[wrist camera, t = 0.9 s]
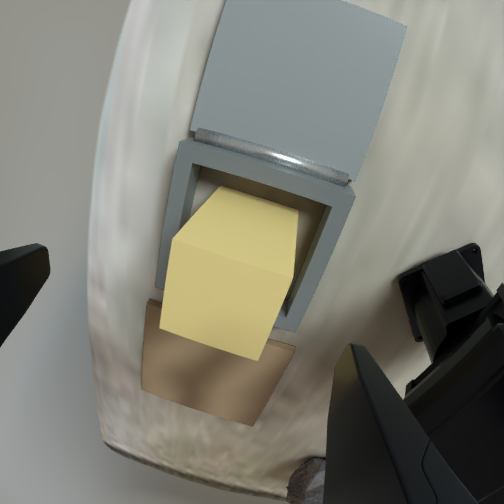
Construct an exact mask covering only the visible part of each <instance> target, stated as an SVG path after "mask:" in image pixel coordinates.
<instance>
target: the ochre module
mask: <svg viewBox="0 0 504 504" xmlns="http://www.w3.org/2000/svg"><path fill="white" fill-rule="evenodd" d="M297 224H298V210H297V209H294V208H291V207H288V206H284V205H281V204H278V203H275V202H272V201H269V200H266V199H263V198H260V197H256V196H253V195H250V194H247V193H244V192H240V191H237V190H234V189H230V188H227V187H224V186H220V187H219V188H218V189H217V190H216V191H215V192H214V193H213V194H212V195H211V196H210V197H209V198H208V200H207V201H206V202H205V203H204V204H203V205H202V206H201V207H200V208H199V209H198V211H197V212H196V213H195V214H194V215H193V216H192V217H191V218H190V219H189V221H188V222H187V223H186V224H185V225H184V226H183V227H182V228H181V230H180V231H179V232H178V233H177V234H176V235H175V236H174V237H173V239H172V244H171V250H170V256H169V262H168V269H167V275H166V282H165V289H164V296H163V303H162V311H161V319H160V327H159V328H160V329H163V330H166V331H169V332H171V333H174V334H177V335H180V336H182V337H185V338H188V339H191V340H194V341H197V342H199V343H202V344H205V345H208V346H211V347H214V348H217V349H220V350H224V351H227V352H230V353H233V354H236V355H239V356H243V357H246V358H249V359H252V360H256V361H258V360H259V357H260V355H261V353H262V350H263V348H264V346H265V344H266V341H267V339H268V337H269V334H270V332H271V330H272V327H273V325H274V323H275V320H276V318H277V316H278V313H279V311H280V308H281V306H282V304H283V301H284V299H285V296H286V294H287V292H288V289H289V287H290V284H291V282H292V279H293V274H294V262H295V250H296V237H297Z"/></svg>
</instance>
